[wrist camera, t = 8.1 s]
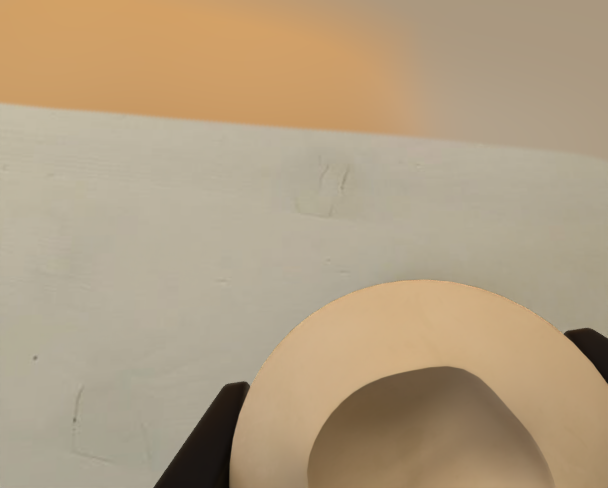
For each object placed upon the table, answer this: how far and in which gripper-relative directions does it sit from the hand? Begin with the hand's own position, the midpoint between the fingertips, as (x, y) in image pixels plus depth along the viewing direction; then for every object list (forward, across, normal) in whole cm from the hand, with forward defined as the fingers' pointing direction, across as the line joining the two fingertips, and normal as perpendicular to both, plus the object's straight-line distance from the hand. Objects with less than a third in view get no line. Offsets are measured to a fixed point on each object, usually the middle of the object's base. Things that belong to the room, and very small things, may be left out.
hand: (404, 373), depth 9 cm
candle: (+4, 0, +6) cm, 7 cm away
